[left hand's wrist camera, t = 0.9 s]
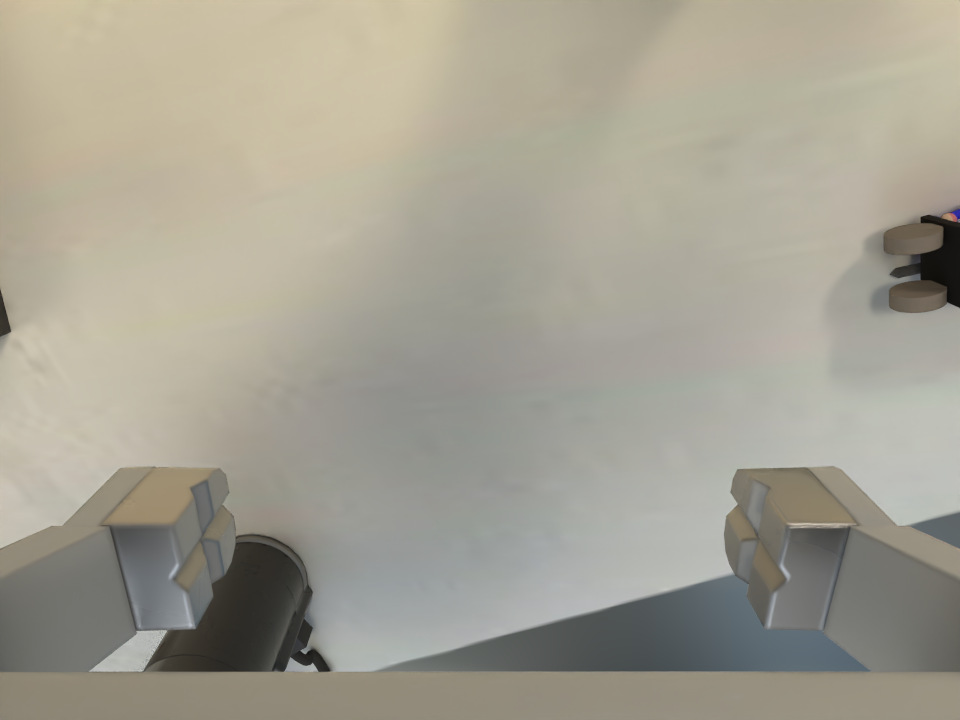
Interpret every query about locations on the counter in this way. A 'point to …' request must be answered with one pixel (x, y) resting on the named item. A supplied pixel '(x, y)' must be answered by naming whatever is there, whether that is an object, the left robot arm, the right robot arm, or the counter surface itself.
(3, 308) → the box
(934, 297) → the figurine character
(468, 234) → the counter surface
